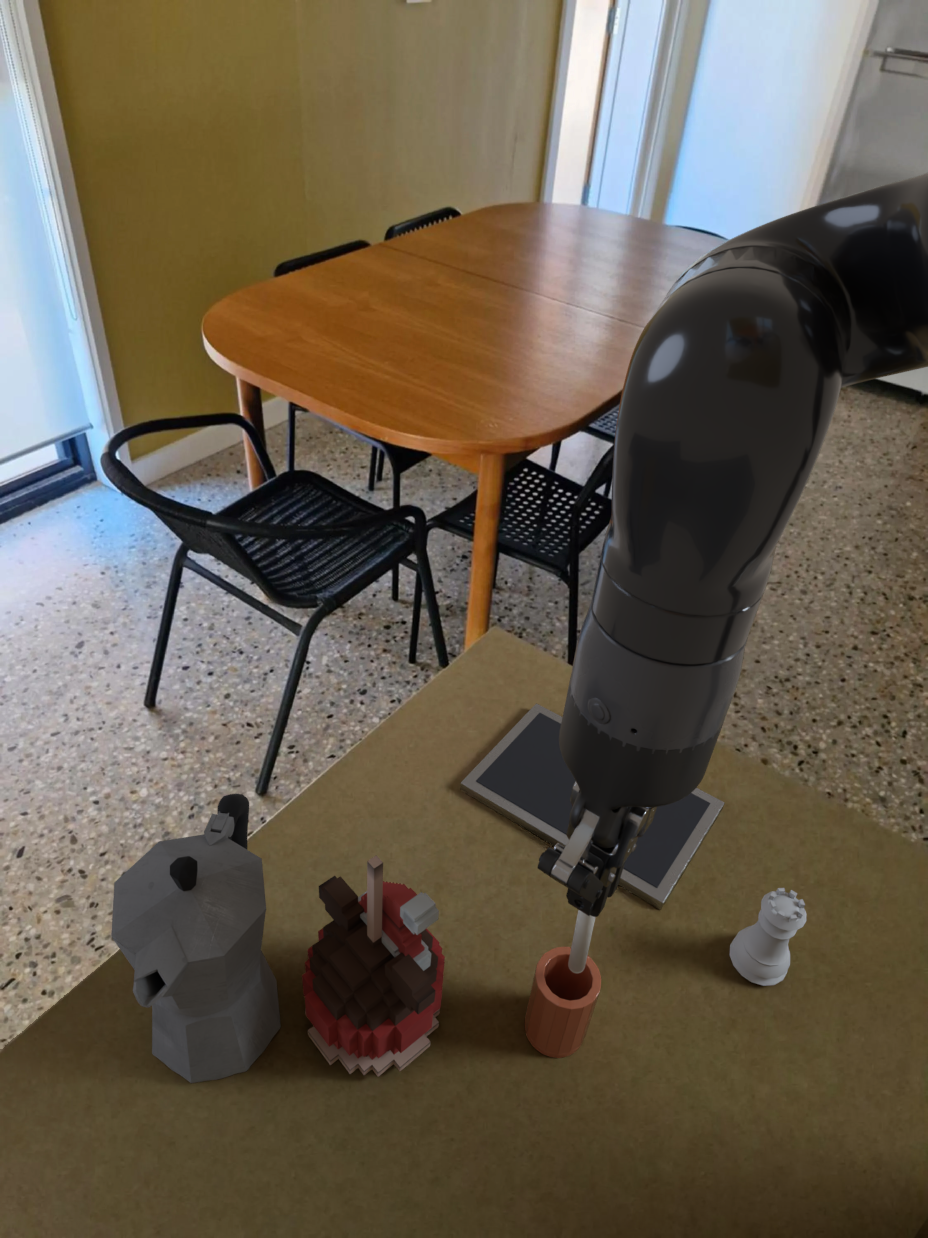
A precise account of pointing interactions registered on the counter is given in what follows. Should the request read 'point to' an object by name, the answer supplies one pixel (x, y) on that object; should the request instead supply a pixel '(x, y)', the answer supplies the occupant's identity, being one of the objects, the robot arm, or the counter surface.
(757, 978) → the rook chess piece
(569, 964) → the stylus
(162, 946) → the coffeepot
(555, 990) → the pen cup
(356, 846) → the counter surface
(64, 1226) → the counter surface
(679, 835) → the tablet
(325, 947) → the cake
